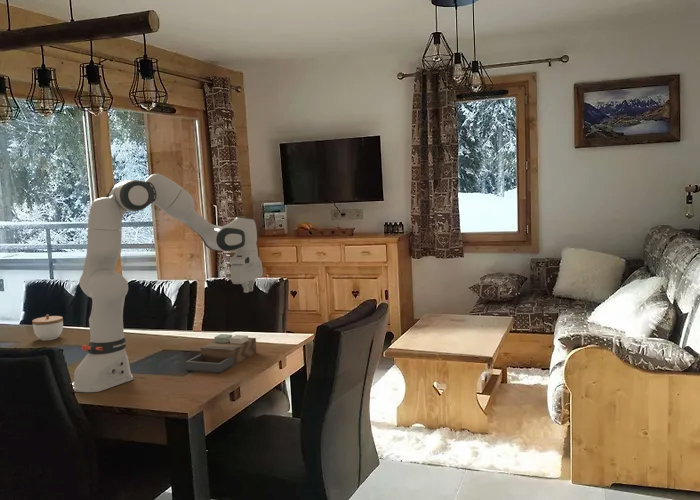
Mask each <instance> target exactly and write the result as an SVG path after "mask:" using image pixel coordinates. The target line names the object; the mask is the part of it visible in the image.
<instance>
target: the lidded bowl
mask: <svg viewBox="0 0 700 500" xmlns="http://www.w3.org/2000/svg"><path fill="white" fill-rule="evenodd" d="M31 323H32V328H33V333H34V335H35V336H36V337H37V338H38V339H39V340H40V341H53V340H56V339H58V338H59V337H60V336H61V334H62V332H63V327H64V318H63V316H62V315H61V316H60V315H51V316H50V315H49V314H46V315H45V316H41V317H37V318H34V319H32V321H31Z"/></svg>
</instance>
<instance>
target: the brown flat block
mask: <svg viewBox="0 0 700 500" xmlns="http://www.w3.org/2000/svg"><path fill="white" fill-rule="evenodd" d="M199 350H200V354H203V362H214V363H220V362H222V361H224V360H225V359H227V358H229V357H231V356H233V358H234V366H236V365H237V364H239V363H241V362H242V361H244V360H246V359H248V358H251V356H254V355H255V354H257V353H258V352H257V338H256V337H248V341H246V342H244V343H243V344H236V343H230V341H229V342H227V343H220V342H215V341H214V340H213V341H211V342H210V343H207V344H205V345H203V346H201V347H200V349H199Z"/></svg>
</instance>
